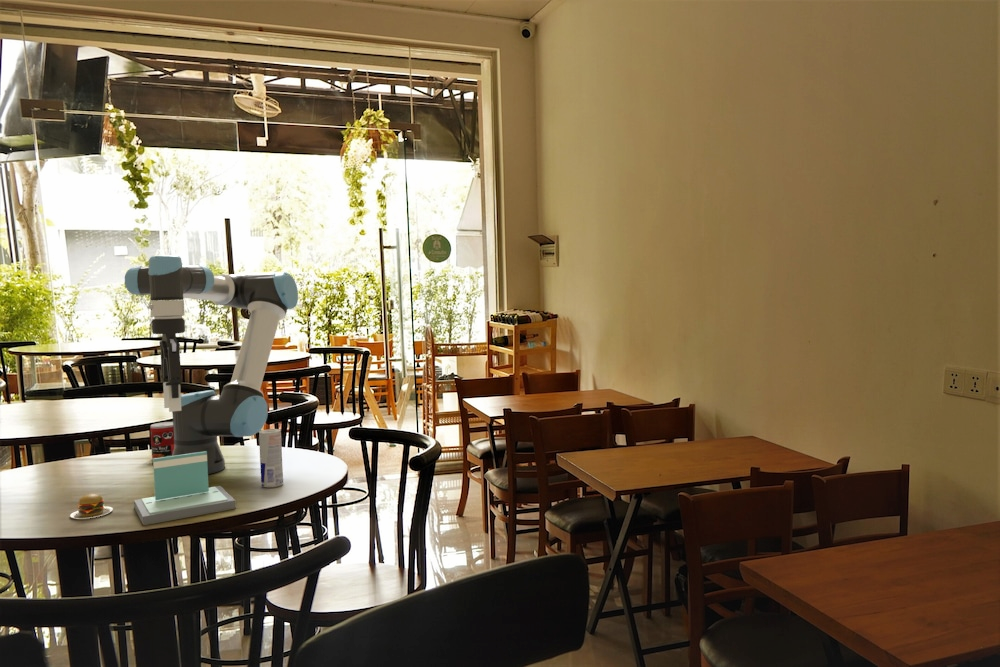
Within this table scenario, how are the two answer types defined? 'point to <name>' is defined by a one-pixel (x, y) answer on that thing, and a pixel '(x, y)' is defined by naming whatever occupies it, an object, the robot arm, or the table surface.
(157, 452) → the canned food
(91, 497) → the hamburger
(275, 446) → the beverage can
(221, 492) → the board
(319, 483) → the table surface
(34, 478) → the table surface
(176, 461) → the stub
